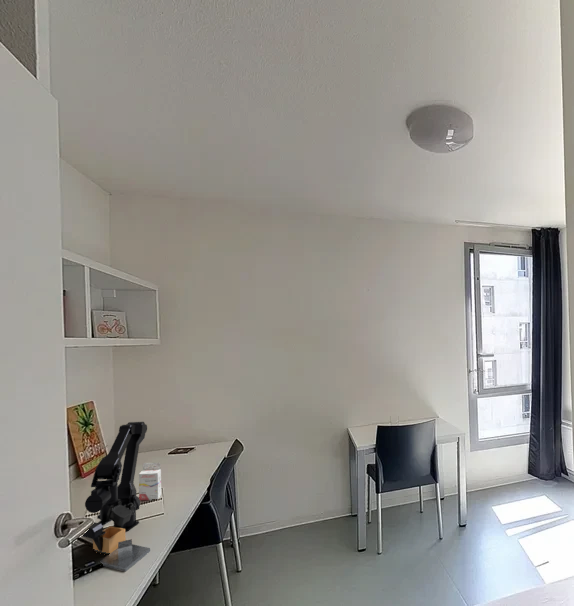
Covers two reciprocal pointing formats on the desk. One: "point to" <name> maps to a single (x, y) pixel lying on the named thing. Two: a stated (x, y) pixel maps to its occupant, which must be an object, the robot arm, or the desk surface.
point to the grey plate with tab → (125, 556)
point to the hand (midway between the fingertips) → (109, 544)
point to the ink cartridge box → (150, 482)
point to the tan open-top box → (111, 539)
